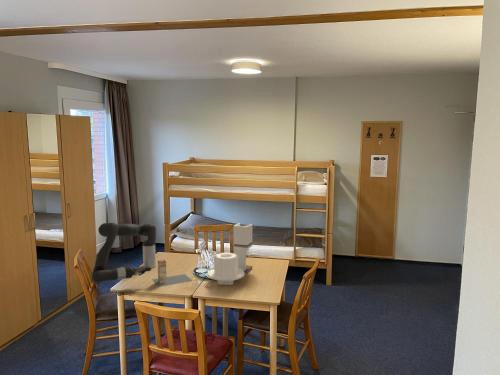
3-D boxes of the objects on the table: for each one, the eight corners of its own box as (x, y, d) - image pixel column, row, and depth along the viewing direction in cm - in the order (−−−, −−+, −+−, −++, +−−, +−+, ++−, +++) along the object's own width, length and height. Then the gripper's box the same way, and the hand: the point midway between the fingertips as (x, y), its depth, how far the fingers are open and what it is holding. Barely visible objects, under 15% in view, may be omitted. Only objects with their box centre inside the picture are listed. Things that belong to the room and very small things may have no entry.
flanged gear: (245, 276, 285) (245, 250, 283) (242, 289, 261) (242, 261, 258) (211, 275, 287) (210, 250, 285) (205, 288, 262) (204, 260, 260)
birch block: (158, 281, 273) (157, 260, 272) (164, 280, 276) (164, 259, 274) (160, 283, 269) (159, 262, 268) (166, 282, 272) (166, 261, 270)
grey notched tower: (246, 273, 292) (247, 226, 288) (233, 271, 296) (233, 225, 291) (252, 268, 302) (252, 223, 298) (239, 267, 306) (239, 222, 302)
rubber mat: (152, 280, 277) (152, 279, 277) (184, 274, 289) (184, 273, 288) (158, 287, 263) (158, 286, 263) (192, 281, 275) (192, 280, 275)
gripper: (126, 270, 253) (153, 266, 261) (121, 264, 265) (147, 260, 273) (126, 281, 254) (153, 277, 262) (122, 275, 266) (148, 271, 274)
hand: (150, 268), depth 268 cm, fingers closed
